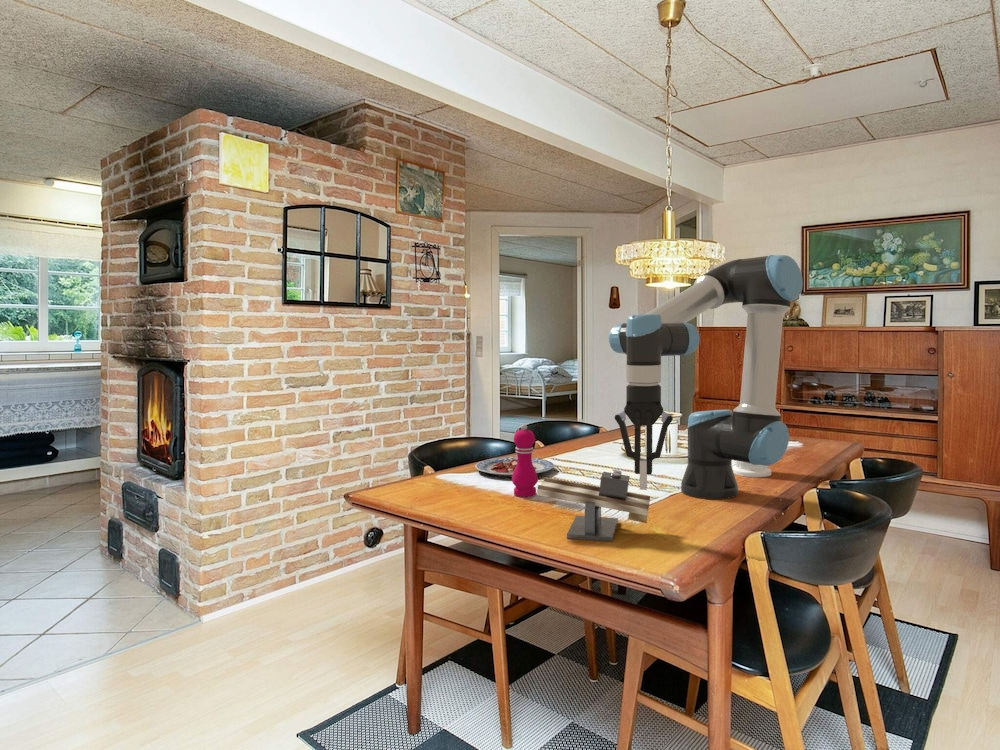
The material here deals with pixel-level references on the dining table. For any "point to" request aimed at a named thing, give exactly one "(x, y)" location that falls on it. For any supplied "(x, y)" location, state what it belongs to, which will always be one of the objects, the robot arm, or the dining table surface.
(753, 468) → the decorative container
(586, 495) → the beam
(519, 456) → the pepper mill
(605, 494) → the block
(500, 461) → the ceramic plate
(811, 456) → the dining table surface
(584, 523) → the stand
